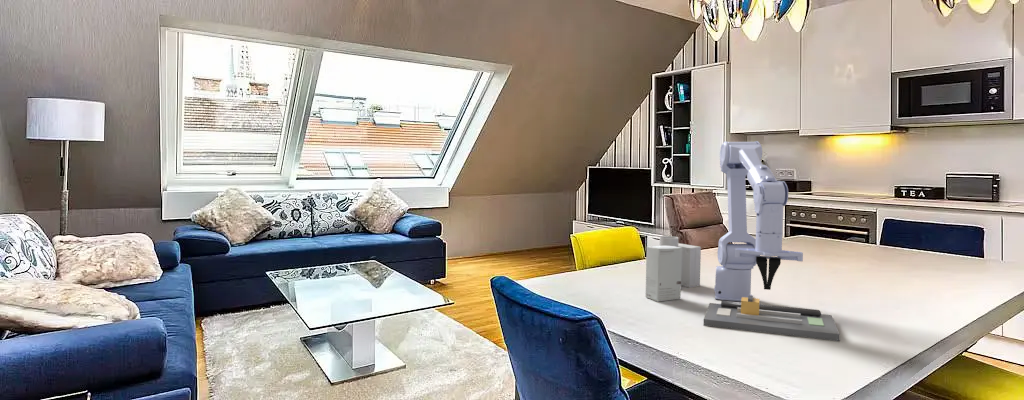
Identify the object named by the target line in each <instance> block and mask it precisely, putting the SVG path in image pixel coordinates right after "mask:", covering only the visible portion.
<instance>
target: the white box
mask: <svg viewBox="0 0 1024 400" xmlns="http://www.w3.org/2000/svg"><path fill="white" fill-rule="evenodd" d="M659 246H675V247H680V248H682V258H681V287H682V286H683V287H685V288H686V287H687V288H693V287H695V288H696V287H698V286H699V287H700V286H701V262H702V261H701V260H702V258H701V257H702V256H701V254H702V252H701V251H702V247H701V246H700V245H699V246H697V245H691V244H685V243H680V242H679V237H678V236H674V235H673V236H671V235H665V236H664V235H662V236H659Z"/></svg>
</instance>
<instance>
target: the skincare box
mask: <svg viewBox="0 0 1024 400" xmlns="http://www.w3.org/2000/svg"><path fill="white" fill-rule="evenodd" d="M681 258H682V248H680V247H675V246H660V245H649V246H648V245H647V246H646V260H645V261H646V263H645V296H644V297H645V298H648V299H649V300H652V301H655V302H665V301H674V300H680V299H681V295H682V294H681V291H682V290H681V289H682V286H681Z"/></svg>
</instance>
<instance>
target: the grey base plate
mask: <svg viewBox="0 0 1024 400" xmlns="http://www.w3.org/2000/svg"><path fill="white" fill-rule="evenodd" d="M703 326H707V327H715V328H724V329H732V330H740V331H741V330H742V331H749V332H756V333H757V332H758V333H767V334H777V335H784V336H792V337H800V338H810V339H819V340H828V341H834V342H840V337H841V336H840V332H839V330H838V328H837V325H836V323H835V320H834V318H833V315H832V314H825V313H822V312H821V310H819V309H812V308H801V307H791V306H781V305H771V304H760V303H759V315H750V314H741V301H730V300H721V301H720V303H714V302H709V304H708V306H707V309H706V311H705V314H704V317H703Z"/></svg>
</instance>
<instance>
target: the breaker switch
mask: <svg viewBox="0 0 1024 400" xmlns="http://www.w3.org/2000/svg"><path fill="white" fill-rule="evenodd" d="M751 295H752V294H751ZM751 295H748V298H747V297H742V299H741V301H740V302H741V314H750V315H759V304H760V301H761V300H760V298H758V297H757V298H755V297H754V295H752V296H751Z"/></svg>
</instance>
